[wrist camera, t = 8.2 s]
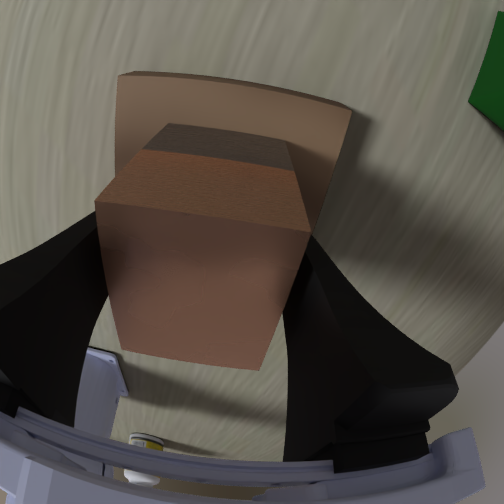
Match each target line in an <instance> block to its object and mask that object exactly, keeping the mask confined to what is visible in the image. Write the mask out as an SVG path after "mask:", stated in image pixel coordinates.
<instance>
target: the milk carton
mask: <svg viewBox="0 0 504 504" xmlns="http://www.w3.org/2000/svg"><path fill="white" fill-rule="evenodd" d="M468 102H469V103H470V104H472V105H473V106H474V107H475V108H477V109H478V110H479V111H481V112H482V113H483V114H484V115H485V116H487V117H488V118H489V119H490V120H491V121H492V122H494V123H495V124H496V125H497V126H498V127H499V128H500V129H502V130H503V131H504V12H501V11H498V14H497V17H496V21H495V25H494V28H493V32H492V35H491V39H490V42H489V45H488V48H487V51H486V54H485V57H484V60H483V63H482V66H481V69H480V72H479V75H478V77H477V80H476V83H475V85H474V88H473V90H472V93H471V95H470V98H469V100H468Z"/></svg>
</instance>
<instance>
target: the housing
mask: <svg viewBox="0 0 504 504" xmlns="http://www.w3.org/2000/svg"><path fill="white" fill-rule="evenodd" d="M95 211H96V220H97V228H98V236H99V243H100V250H101V256H102V262H103V268H104V273H105V279H106V284H107V289H108V294H109V299H110V304H111V308H112V313H113V317H114V321H115V325H116V329H117V333H118V337H119V341H120V345H121V349H122V350H127V351H131V352H136V353H141V354H146V355H151V356H156V357H162V358H168V359H173V360H179V361H186V362H192V363H199V364H206V365H213V366H221V367H230V368H238V369H248V370H259V369H260V367H261V365H262V362H263V360H264V357H265V355H266V352H267V350H268V347H269V345H270V342H271V340H272V337H273V335H274V332H275V330H276V327H277V324H278V322H279V319H280V317H281V314H282V312H283V309H284V306H285V304H286V301H287V298H288V296H289V293H290V290H291V288H292V285H293V282H294V280H295V277H296V274H297V271H298V269H299V266H300V263H301V260H302V258H303V255H304V252H305V249H306V246H307V244H308V241H309V238H310V235H311V229H310V225H309V222H308V218H307V214H306V210H305V207H304V203H303V200H302V196H301V192H300V189H299V185H298V182H297V179H296V175H295V172H294V168H293V165H292V162H291V158H290V155H289V152H288V149H287V145H286V142H285V140H282V139H277V138H272V137H266V136H261V135H255V134H249V133H243V132H237V131H230V130H224V129H217V128H209V127H201V126H193V125H184V124H174V123H168V124H167V125H166V126H165V127H164V128H162V129H161V130H160V131H159V132H158V133H157V134H156V135H155V136H154V137H153V138H152V139H151V140H150V141H149V142H148V143H147V144H146V145H145V146H144V147H143V148H142V149H141V150H140V151H139V152H138V153H137V154H136V155H135V156H134V157H133V158H132V159H131V160H130V161H129V162H128V164H127V165H126V166H125V167H124V168H123V169H122V170H121V171H120V172H119V173H118V174H117V175H116V177H115V178H114V179H113V180H112V181H111V182H110V183H109V184H108V185H107V187H106V188H105V189H104V190H103V191H102V192H101V194H100V195H99V196H98V197H97V198H96V199H95Z"/></svg>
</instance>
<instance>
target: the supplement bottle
mask: <svg viewBox="0 0 504 504" xmlns="http://www.w3.org/2000/svg"><path fill="white" fill-rule="evenodd" d="M129 444H131V445H136V446H140V447H145V448H149V449H154V450H160V451H163V447H164V443H163V441H162V440H161V439H159V438H156V437H154V436H150V435H146V434H141V433H133V434H131V435H130V438H129ZM124 475H125V477H126V478H127V479H129V483H132V484H136V485H141V486H145V487H150V488H153V485H156V484H158V483H159V481H160V477H159V476H153V475H149V474H144V473H139V472H135V471H131V470H127V469H124Z"/></svg>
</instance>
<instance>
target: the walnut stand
mask: <svg viewBox="0 0 504 504" xmlns="http://www.w3.org/2000/svg"><path fill="white" fill-rule="evenodd" d="M351 114H352V110H350V109H349V108H347V107H346V106H344V105H343V104H341V103H339V102H336V101H332V100H329V99H325V98H321V97H318V96H314V95H310V94H306V93H301V92H297V91H293V90H288V89H284V88H279V87H274V86H269V85H264V84H258V83H253V82H247V81H241V80H234V79H227V78H220V77H212V76H203V75H193V74H182V73H167V72H146V71H133V72H130V73H126V74H122V75H118V82H117V96H116V117H115V177H116V175H117V174H118V173H119V172H120V171H121V170H122V169H123V168H124V167H125V166H126V165H127V164H128V162H129V161H130V160H131V159H132V158H133V157H134V156H135V155H136V154H137V153H138V152H139V151H140V150H141V149H142V148H143V147H144V146H145V145H146V144H147V143H148V142H149V141H150V140H151V139H152V138H153V137H154V136H155V135H156V134H157V133H158V132H159V131H160V130H161V129H162V128H164V127H165V126H166V125H167V124H168V123H174V124H184V125H193V126H201V127H209V128H217V129H224V130H230V131H237V132H243V133H249V134H255V135H261V136H266V137H272V138H277V139H282V140H285V142H286V145H287V149H288V152H289V155H290V158H291V162H292V165H293V168H294V172H295V175H296V179H297V182H298V185H299V189H300V192H301V196H302V200H303V203H304V207H305V210H306V214H307V218H308V222H309V225H310V229H311V235H312V234H313V231H314V228H315V225H316V222H317V219H318V217H319V214H320V211H321V208H322V205H323V202H324V199H325V196H326V193H327V190H328V187H329V184H330V181H331V178H332V175H333V172H334V169H335V166H336V163H337V160H338V156H339V153H340V150H341V147H342V144H343V141H344V137H345V134H346V131H347V127H348V124H349V121H350V117H351Z"/></svg>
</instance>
